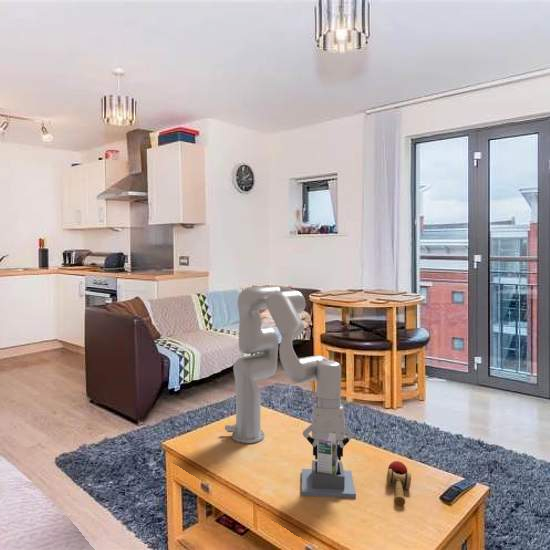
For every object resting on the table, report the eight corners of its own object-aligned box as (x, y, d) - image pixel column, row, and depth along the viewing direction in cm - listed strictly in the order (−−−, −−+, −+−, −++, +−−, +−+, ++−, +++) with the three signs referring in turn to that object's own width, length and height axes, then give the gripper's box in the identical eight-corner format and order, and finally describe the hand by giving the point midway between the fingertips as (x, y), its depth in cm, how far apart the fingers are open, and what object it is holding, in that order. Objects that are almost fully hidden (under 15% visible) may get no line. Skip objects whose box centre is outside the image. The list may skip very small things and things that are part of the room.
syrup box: (316, 477, 138) (317, 430, 137) (320, 468, 144) (320, 423, 143) (334, 479, 136) (335, 433, 135) (338, 470, 142) (338, 425, 141)
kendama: (416, 512, 128) (411, 473, 145) (413, 492, 127) (408, 455, 144) (388, 513, 130) (387, 474, 147) (385, 493, 129) (383, 457, 146)
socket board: (301, 495, 134) (301, 478, 133) (301, 472, 148) (302, 456, 147) (355, 497, 133) (356, 480, 132) (351, 474, 147) (351, 458, 146)
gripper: (300, 405, 135) (299, 462, 137) (358, 406, 134) (357, 465, 135) (300, 396, 143) (299, 451, 144) (355, 398, 142) (354, 453, 143)
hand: (327, 457), depth 140 cm, fingers closed on syrup box, 6 cm apart
